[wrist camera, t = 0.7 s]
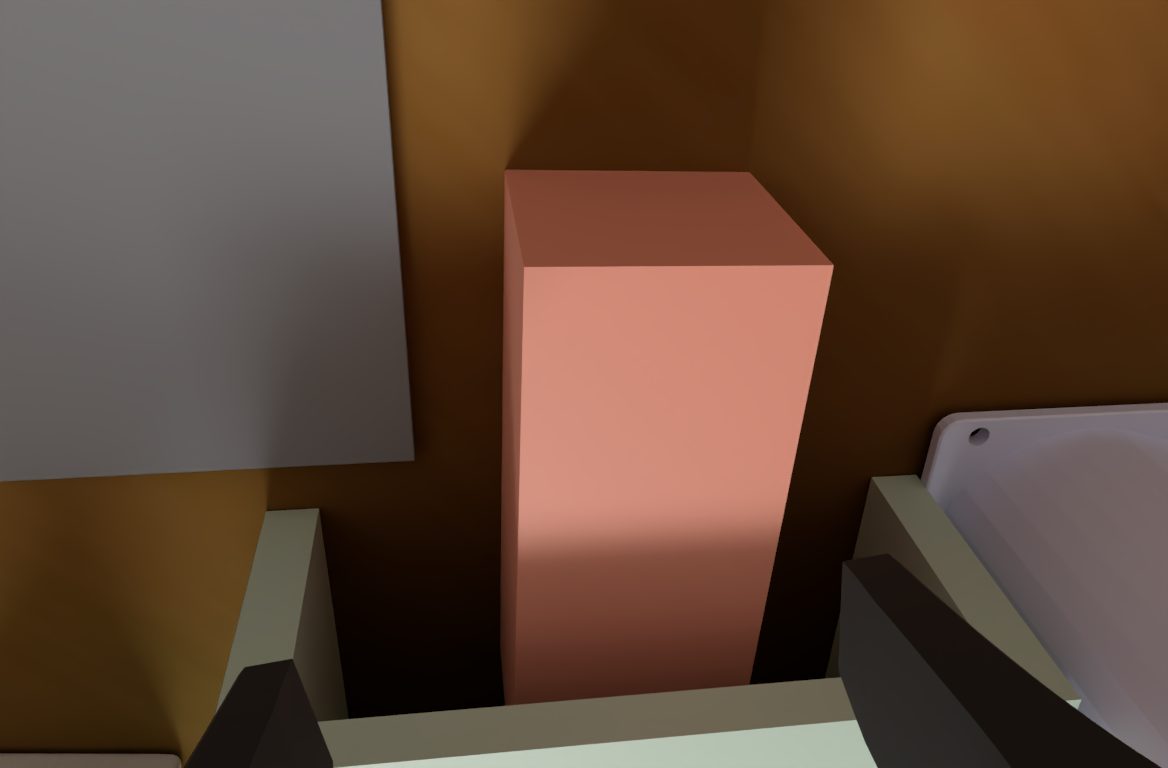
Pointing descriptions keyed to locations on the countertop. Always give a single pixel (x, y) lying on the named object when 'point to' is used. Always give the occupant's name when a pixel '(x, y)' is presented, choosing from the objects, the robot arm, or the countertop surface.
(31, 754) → the coffee box
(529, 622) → the plain pink rectangular block
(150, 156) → the mat
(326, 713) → the shelf cubby
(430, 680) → the countertop surface
